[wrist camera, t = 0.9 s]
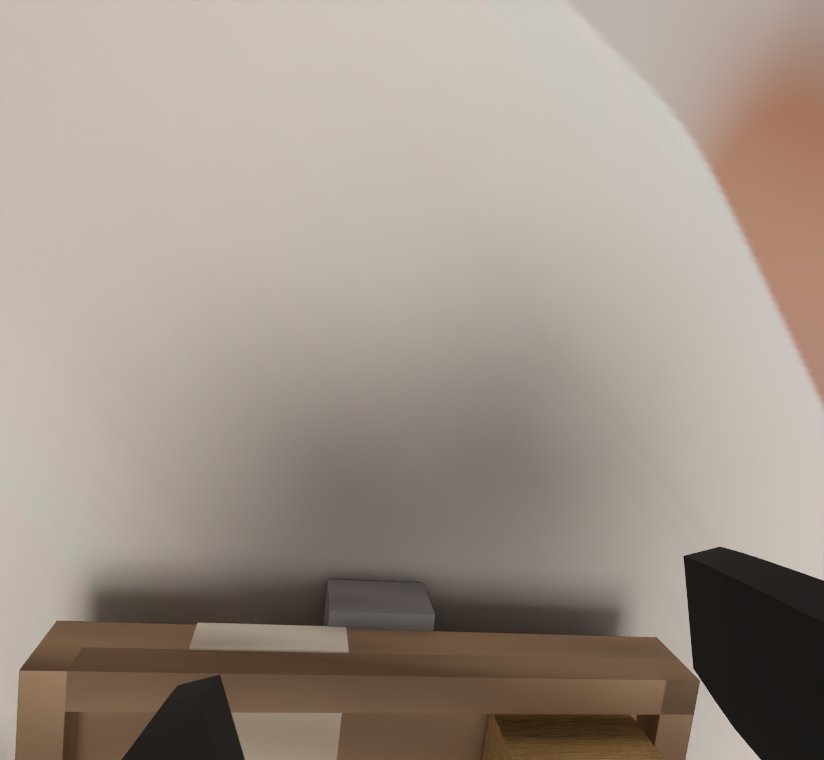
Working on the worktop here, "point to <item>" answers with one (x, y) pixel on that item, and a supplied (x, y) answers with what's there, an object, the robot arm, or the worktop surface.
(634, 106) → the worktop surface
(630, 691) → the beam
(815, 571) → the worktop surface
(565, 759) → the tan wooden block
